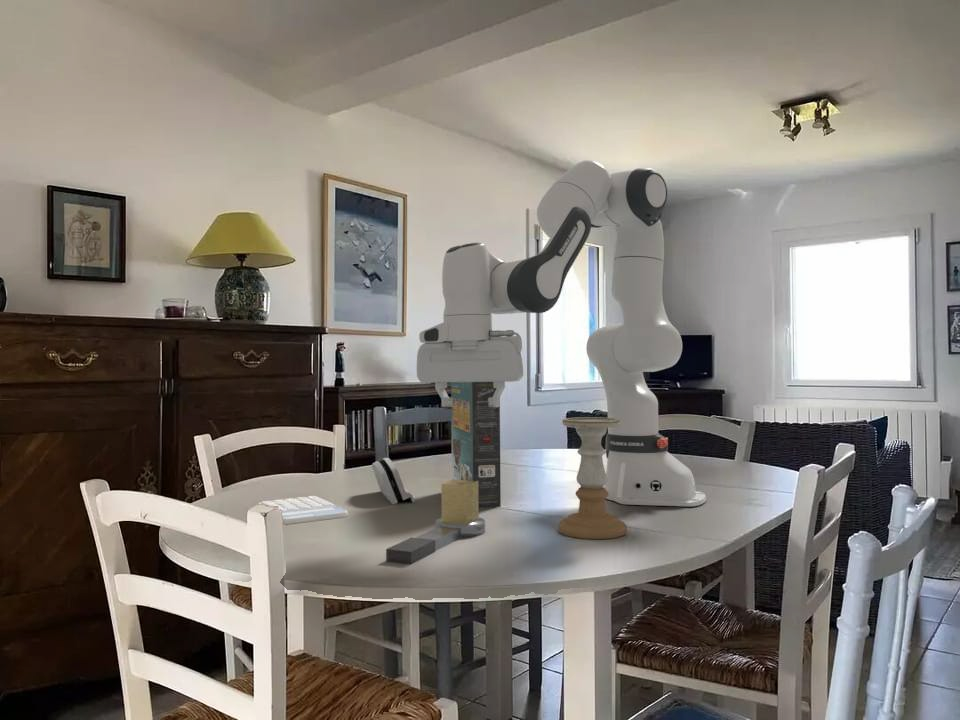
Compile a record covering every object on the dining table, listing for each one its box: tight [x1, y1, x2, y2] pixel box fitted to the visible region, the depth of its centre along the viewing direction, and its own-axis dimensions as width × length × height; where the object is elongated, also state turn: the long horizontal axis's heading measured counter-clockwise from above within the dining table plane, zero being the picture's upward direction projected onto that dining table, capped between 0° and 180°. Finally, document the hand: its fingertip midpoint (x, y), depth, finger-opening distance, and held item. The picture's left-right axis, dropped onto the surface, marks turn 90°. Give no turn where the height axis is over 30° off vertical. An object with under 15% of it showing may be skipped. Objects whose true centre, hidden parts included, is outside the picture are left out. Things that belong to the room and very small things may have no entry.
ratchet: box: [385, 517, 486, 565], centre depth 124 cm, size 26×9×5 cm, turn 156°
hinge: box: [371, 457, 416, 505], centre depth 167 cm, size 17×5×10 cm, turn 17°
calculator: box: [257, 495, 349, 525], centre depth 151 cm, size 13×20×2 cm, turn 31°
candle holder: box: [557, 416, 628, 540], centre depth 132 cm, size 12×12×20 cm
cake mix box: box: [450, 382, 502, 509], centre depth 165 cm, size 22×6×30 cm, turn 14°
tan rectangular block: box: [440, 479, 480, 525], centre depth 132 cm, size 5×5×7 cm
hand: (470, 407), depth 134 cm, fingers open, 8 cm apart
